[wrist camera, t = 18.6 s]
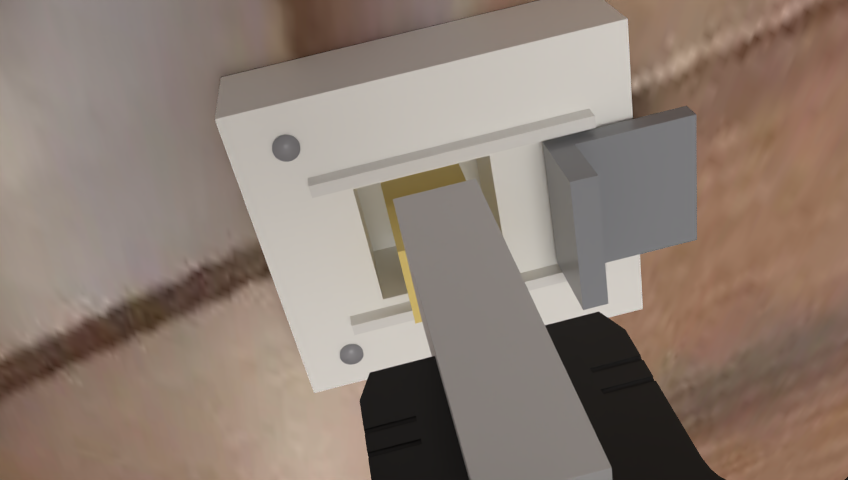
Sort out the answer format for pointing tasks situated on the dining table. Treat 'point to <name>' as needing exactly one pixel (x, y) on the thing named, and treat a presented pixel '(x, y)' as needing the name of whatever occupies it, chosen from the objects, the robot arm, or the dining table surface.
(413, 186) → the plug
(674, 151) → the shutter
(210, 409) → the dining table surface
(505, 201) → the socket
